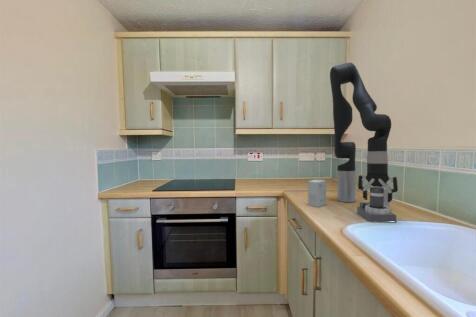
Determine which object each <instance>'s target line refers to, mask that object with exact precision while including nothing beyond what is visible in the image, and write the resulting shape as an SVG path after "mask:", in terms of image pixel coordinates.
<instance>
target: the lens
mask: <svg viewBox="0 0 476 317" xmlns="http://www.w3.org/2000/svg"><path fill="white" fill-rule="evenodd" d="M369 202H370V207H371V208H376V209H380V208H382V209H384V188H381V187H373V186H370V187H369Z"/></svg>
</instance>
